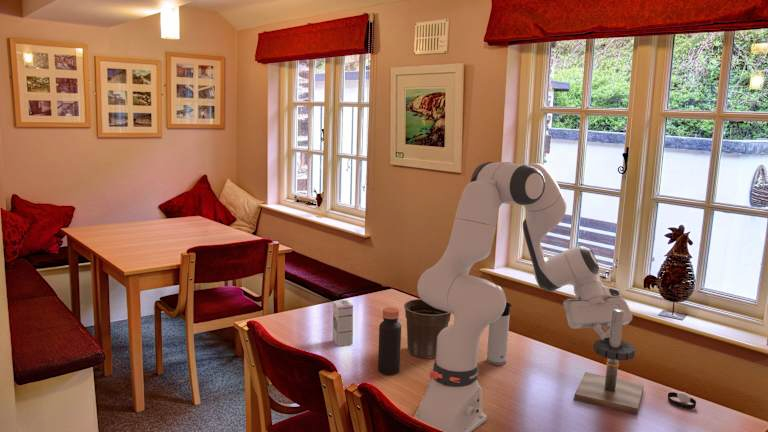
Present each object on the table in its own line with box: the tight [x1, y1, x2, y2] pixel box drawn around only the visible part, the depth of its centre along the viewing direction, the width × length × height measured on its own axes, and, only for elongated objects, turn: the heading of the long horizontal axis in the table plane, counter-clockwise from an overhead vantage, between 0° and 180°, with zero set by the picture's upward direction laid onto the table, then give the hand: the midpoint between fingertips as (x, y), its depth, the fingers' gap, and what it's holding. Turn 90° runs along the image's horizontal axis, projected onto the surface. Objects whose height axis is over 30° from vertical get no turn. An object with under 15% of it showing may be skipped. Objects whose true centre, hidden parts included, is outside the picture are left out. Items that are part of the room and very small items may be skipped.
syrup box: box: [332, 299, 354, 347], centre depth 218 cm, size 6×6×14 cm
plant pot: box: [403, 298, 452, 359], centre depth 212 cm, size 16×16×16 cm
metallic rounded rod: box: [605, 309, 624, 391], centre depth 184 cm, size 3×3×24 cm
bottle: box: [377, 306, 402, 376], centre depth 196 cm, size 7×7×20 cm
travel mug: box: [486, 302, 512, 366], centre depth 206 cm, size 6×7×20 cm
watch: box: [667, 391, 697, 410], centre depth 182 cm, size 8×5×4 cm, turn 45°
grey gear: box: [593, 338, 636, 361], centre depth 184 cm, size 11×11×2 cm
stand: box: [573, 371, 645, 416], centre depth 186 cm, size 17×17×2 cm
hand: (607, 339), depth 187 cm, fingers closed
